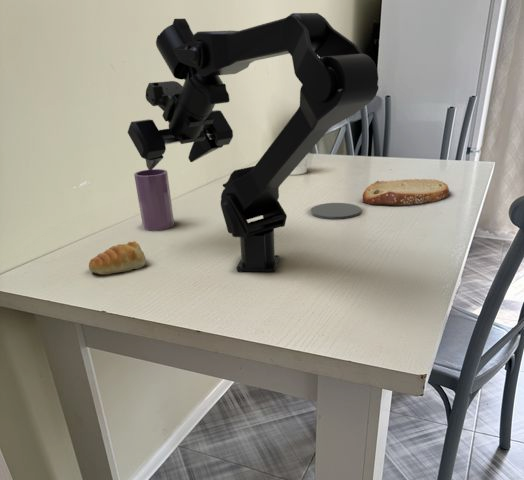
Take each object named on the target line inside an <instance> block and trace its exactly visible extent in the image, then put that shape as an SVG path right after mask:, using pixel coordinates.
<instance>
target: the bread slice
mask: <svg viewBox="0 0 524 480" xmlns="http://www.w3.org/2000/svg"><path fill="white" fill-rule="evenodd" d="M449 195H450V188H449V186H448V184H447V183H445V182H444V181H442V180H439V179H433V178H432V179H429V178H428V179H426V178H422V179H419V178H412V179H411V178H409V179H397V180H376V181H375V182H372V183H371V184H370V185H368V186H367V187H366V188H365V190H364V191H363V192H362V202H363V203H365V204H369V205H373V206H375V205H378V206H379V205H381V206H399V207H400V206H412V205H413V206H414V205H423V204H425V203H426V204H427V203H432V202H437V201H441V200H443V199H446V198H447V197H448V196H449Z"/></svg>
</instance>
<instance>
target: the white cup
mask: <svg viewBox="0 0 524 480" xmlns="http://www.w3.org/2000/svg"><path fill="white" fill-rule="evenodd" d="M308 157H309V153H308V154H307V155H306V156H305V157H304V159H303V160H302V161H301V162H300V163H299V164H298V165H297V167H296V168H295V169H294V170H293V171H292V172H291V174H290V175H289V176H298V175H304V174H306V173H307V171H308V170H307V169H308V168H307V166H308V160H309V159H308Z"/></svg>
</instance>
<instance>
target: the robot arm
mask: <svg viewBox="0 0 524 480" xmlns="http://www.w3.org/2000/svg"><path fill="white" fill-rule="evenodd" d="M191 29H192V28H191V27H190V24H189V23H188V21H187V19H186V18H173V21H172V24H171V25H168V26H166V27H165V28H164V29H163V30H162V31H161V32H160V33H159V34H157V37H156V40H155V45H156V48H157V50H158V52H159V54H160V55H161V58H162V59H163V60H164V62H165V64H166V66H167V67H168V69H169V71H170V72H171V74H172V76H173V78H174V79H177V80H184V82H183V85H182V84H181V83H180V82H178V81H175V80H168V81H167V80H166V81H159V82H158V81H155V82H148V84H147V87H146V89H145V100H146V102H148V103H149V104H150V105H151V106H152V107H159V108H160V109H161V110H162V111H163V113H162V118H163V120H164V122H168V128H163V129H159V128H158V127H157V125H156V123H155V121H154V120H153V119H149V118H148V119H142V120H135V121H131V122H130V123H129V126H128V129H127V135H128V136H129V138H130V140H131V142H132V143H133V144H134V145H133V146H134V148H135V149H136V150H137V153H138V154H139V156H140V157H141V158H142V159H144V160H145V162H146V163H145V165H146V168H147V170H152V169H155V168H156V166H157V165H158V164H159V163H160V162H161V161H162V160H164V154H165V153H166V151H167V147H166V146H167V145H171V144H178V143H180V145H184V144H190V143H192V146H191V149H190V151H189V153H188V160H189V162H190V163H193V162H195V161H197V160H199V159H201V158H203V157H204V156H206V155H208V154H210V153H213V152H214V151H216V150H218V149H221V148H223V147H224V146H228V145H230V144H231V142H232V139H233V137H234V130H233V129H232V127H231V125H230V124H229V122H228V120H227V118H226V117H225V115H224V113H223V112H222V110H219V109H218V110H217V109H215V110H214V108H215V106H216V105H218V104H219V105H220V104H227V103H230V101H231V100H230V94H229V92H228V90H227V85H226V83H224V82H223V80H222V79H221V77H220V76H226V75H236V74H238V73H240V72H242V71H244V70H246V69H247V68H249V67H250V65H251V64H252V63H253V62H256V61H260V60H261V61H262V60H266V59H269V58H275V57H279V56H284V55H290V56H291V59H292V60H291V61H292V65H293V73H294V75H295V77H296V79H297V80H298V81H299V82H300V84H301V86H300V90H299V106H298V108H297V110H295V112H294V113H293V114H292V116H291V118H290V119H289V120H288V122H287V123H286V124H285V125H284V127H283V128H282V129H281V131H280V132H279V133H278V135H277V136H276V137H275V139H274V140H273V141H272V143H271V144H270V145H269V147H268V148H267V149H266V151H265V152H264V153H263V154H262V156H261V157H260V158H259V160H258V161H257V162H256V164H255V165H252V166H249V167H243V168H239V169H235V170H234V171H232V173H231V174H230V176H229V178H228V180H227V181H226V182H225V183H223V184H222V187H223V190H222V191H221V195H220V208H221V212H222V215H223V219H224V222H225V226H226V229H227V232H228V234H231V235H232V236H231V237H234V238H239V243H240V244H239V246H240V260H239V262H238V264H237V266H236V271H237V272H265V273H266V272H276V269H277V267H278V264H279V260H280V255H278V254H276V251H275V248H276V247H275V246H276V245H275V229H278V228H283V227H285V226H286V222H287V218H288V215H287V212H286V211H285V210H284V208H283V207H282V204H280V202H279V197H280V191H279V190H280V189H279V188H280V186H281V185H282V184H283V183H284V182H285V181H286V180H287V178H288V177H289V176H291V175H290V174H291V172H292V171H293V170H294V169H295V168H296V167H297V165H298V164H299V163H300V162H301V161H302V160H303V159H304V157H305V156H306V155H307V154H308V155H309V153H310V152H311V151H312V150H313V149H314V147H315V146H316V145H317V144H318V143H319V142H320V141H321V139H322V138H323V137H324V136H325V135H326V133H328V131H329V130H330V129H331V128H333V127H334V126H337V125H338V124H340V123H341V122H343V121H345V120H347V119H349V118H351V117H352V116H354V115H355V114H357V113H358V112H359V111H361V110H362V109H363V108H365V107H366V106H367V105H369V104H370V103H371V102H372V101H373V100H374V99H375V97H376V96H377V94H378V91H379V71H378V67H377V66H376V63H375V61H374V60H373V59H372V57H370V55H367V54H366V53H363V52H362V50H361V49H360V48H359V47H358V45H356V43H354V42H353V41H351V40H350V39H349V38H347V37H346V36H344V35H343V34H342V33H341V32H339V31H338V30H336V29H335V28H334V27H333V26H332V25H331V24H330V22H329V21H328V19H326V18H325V17H324V16H323V15H322V14H319V12H292V13H290V14H289V15H287V16H286V17H283V18H280V19H276V20H273V21H269V22H266V23H262V24H258V25H255V26H252V27H248V28H245V29H241V30H204V31H203V30H202V31H201V30H200V31H196V32H195V33H194V32H193V31H192V30H191ZM258 217H262V218H260V219H256V220H252V221H249V222H248V220H251V219H254V218H258Z"/></svg>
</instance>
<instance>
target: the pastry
mask: <svg viewBox="0 0 524 480" xmlns="http://www.w3.org/2000/svg"><path fill="white" fill-rule="evenodd" d="M146 263H147V258H146V255H145V253H144V251H143V250H142V247H141V246H140V244H139V243H138V242H136V241H135V240H134V241H128V242H127V243H122V244H117V245H112V246H110V247H108V249H106V250H104V251H103V252H100V253H98V254H97V255H96V256H94V257H93V258H91V259H90V260H89V263H88V270H89V271H90V272H92V273H95V274H98V275H103V276H105V275H108V276H109V275H111V274H119V273H122V272H123V273H125V272H129V271H132V270H134V269H135V270H138V269H140V268H143V267H144V266H145V265H146Z"/></svg>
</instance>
